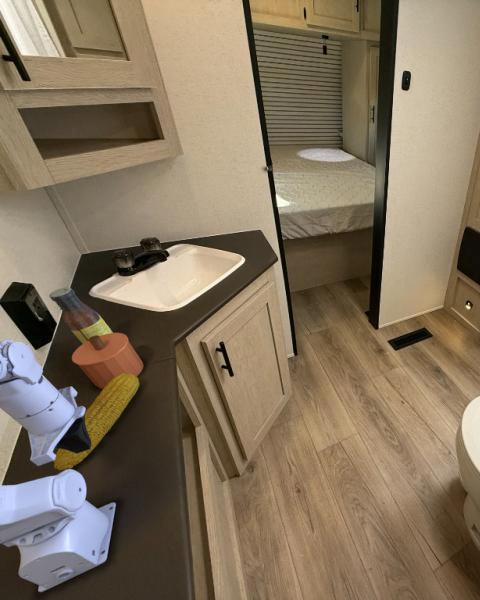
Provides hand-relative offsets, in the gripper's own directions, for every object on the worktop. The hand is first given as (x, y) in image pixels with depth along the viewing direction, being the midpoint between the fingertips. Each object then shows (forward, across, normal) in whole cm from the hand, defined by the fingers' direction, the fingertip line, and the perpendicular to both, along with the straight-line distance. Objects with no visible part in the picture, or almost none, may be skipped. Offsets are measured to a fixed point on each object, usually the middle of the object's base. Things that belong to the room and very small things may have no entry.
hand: (84, 448), depth 59 cm
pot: (+5, +25, 0) cm, 26 cm away
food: (+6, +10, 0) cm, 11 cm away
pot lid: (-3, +25, 0) cm, 26 cm away
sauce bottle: (+6, +36, +4) cm, 37 cm away
